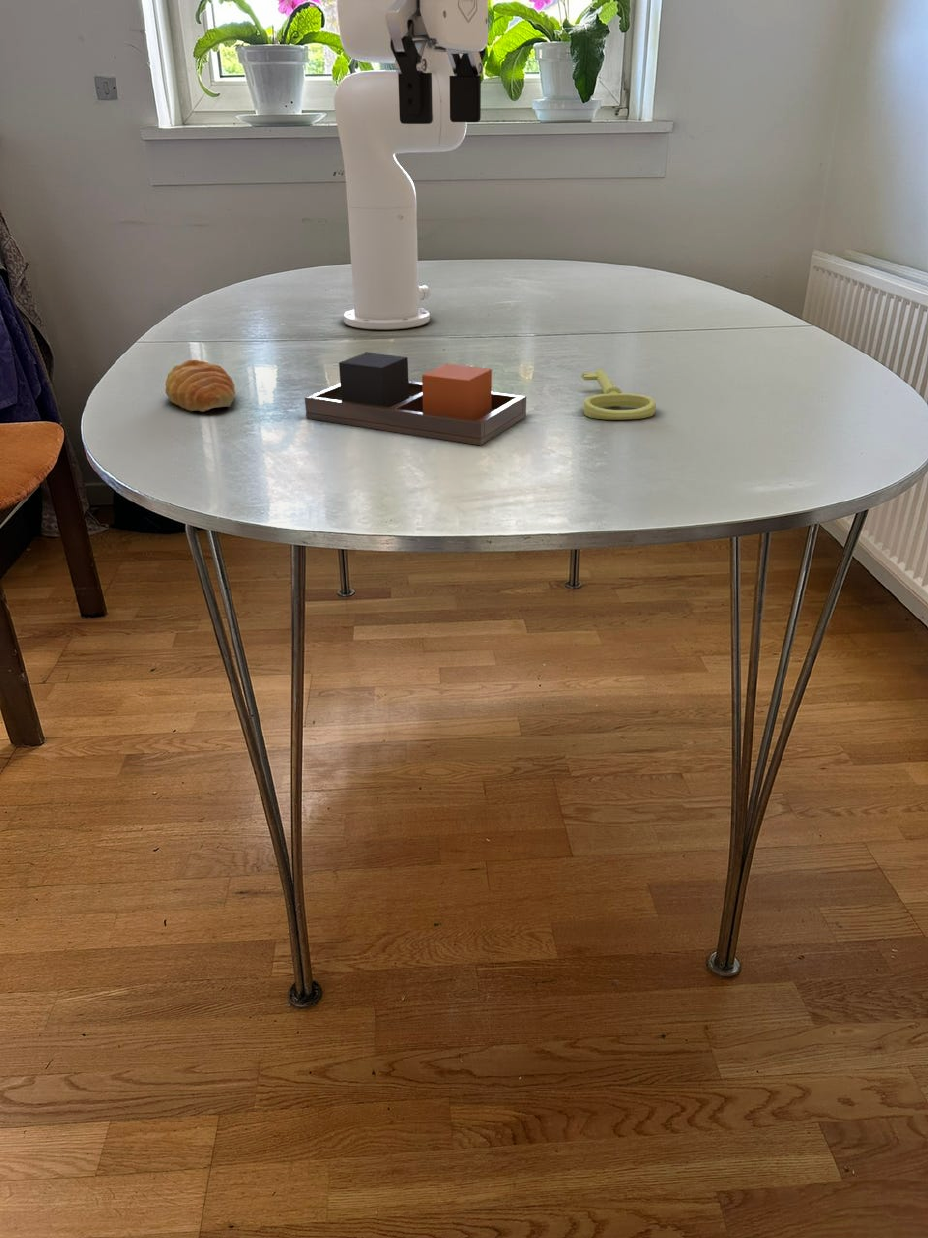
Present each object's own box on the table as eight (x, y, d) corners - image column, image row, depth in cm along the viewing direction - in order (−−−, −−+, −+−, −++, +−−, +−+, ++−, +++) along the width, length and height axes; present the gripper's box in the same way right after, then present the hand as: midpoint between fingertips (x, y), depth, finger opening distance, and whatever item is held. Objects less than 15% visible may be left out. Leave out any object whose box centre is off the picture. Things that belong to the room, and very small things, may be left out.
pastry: (251, 409, 95) (246, 372, 93) (186, 419, 92) (180, 381, 90) (222, 389, 102) (217, 354, 100) (161, 398, 99) (155, 362, 97)
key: (600, 386, 102) (602, 367, 101) (663, 416, 92) (665, 395, 91) (543, 393, 99) (544, 374, 98) (601, 425, 89) (602, 404, 88)
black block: (368, 395, 96) (366, 351, 94) (409, 401, 94) (407, 356, 92) (341, 407, 92) (338, 362, 90) (383, 413, 90) (381, 367, 88)
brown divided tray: (361, 393, 100) (360, 374, 99) (525, 416, 92) (526, 396, 91) (306, 418, 92) (304, 397, 91) (480, 445, 84) (480, 423, 83)
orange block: (447, 408, 92) (446, 363, 90) (491, 414, 90) (492, 368, 88) (422, 421, 89) (421, 374, 86) (468, 428, 87) (468, 380, 84)
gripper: (427, -126, 71) (432, 124, 79) (519, -90, 84) (514, 121, 93) (347, -116, 74) (359, 124, 83) (447, -83, 87) (449, 121, 96)
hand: (441, 122), depth 88 cm, fingers open, 9 cm apart
